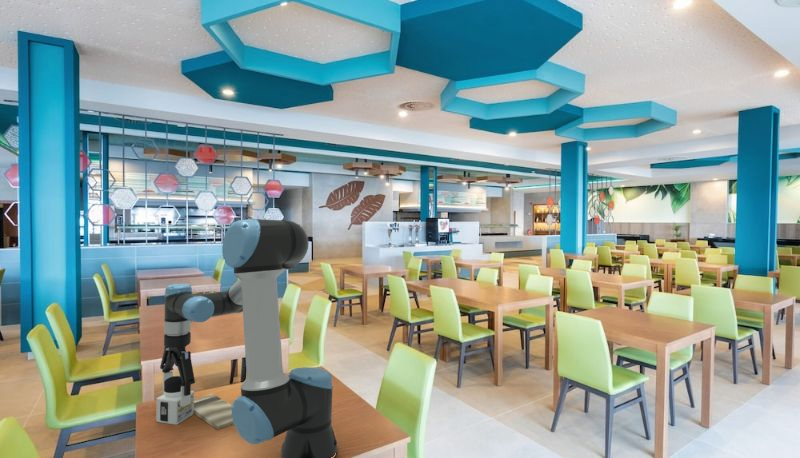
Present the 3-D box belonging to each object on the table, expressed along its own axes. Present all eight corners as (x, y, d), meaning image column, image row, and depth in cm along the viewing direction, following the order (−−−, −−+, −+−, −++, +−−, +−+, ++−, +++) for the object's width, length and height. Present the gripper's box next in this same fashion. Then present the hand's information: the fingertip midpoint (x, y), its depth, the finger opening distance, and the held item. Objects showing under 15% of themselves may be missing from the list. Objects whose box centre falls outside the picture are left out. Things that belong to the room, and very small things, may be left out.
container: (177, 425, 128) (177, 383, 128) (155, 422, 130) (156, 381, 129) (194, 414, 136) (194, 374, 135) (173, 411, 137) (174, 372, 137)
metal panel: (247, 418, 134) (247, 414, 133) (217, 429, 126) (217, 426, 126) (212, 396, 149) (212, 393, 149) (183, 405, 141) (183, 402, 141)
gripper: (207, 338, 127) (206, 406, 128) (173, 323, 143) (172, 383, 144) (182, 343, 121) (180, 415, 122) (149, 327, 137) (148, 390, 138)
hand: (176, 398), depth 133 cm, fingers open, 13 cm apart
